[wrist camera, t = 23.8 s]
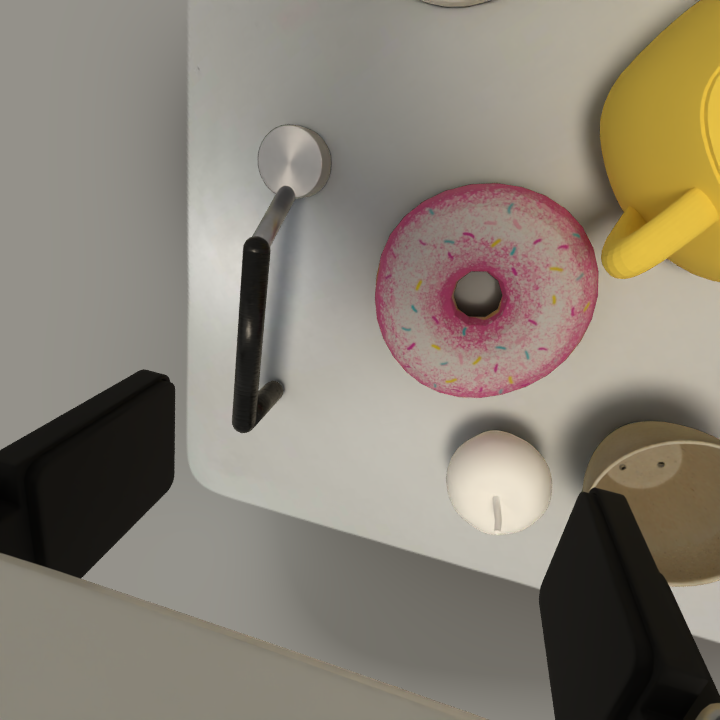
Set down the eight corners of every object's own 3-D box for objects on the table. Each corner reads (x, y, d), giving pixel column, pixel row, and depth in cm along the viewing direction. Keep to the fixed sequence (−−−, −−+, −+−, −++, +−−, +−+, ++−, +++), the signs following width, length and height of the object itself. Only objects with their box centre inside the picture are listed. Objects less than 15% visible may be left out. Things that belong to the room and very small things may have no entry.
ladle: (272, 122, 32) (222, 109, 26) (335, 133, 31) (300, 122, 25) (251, 389, 40) (208, 428, 33) (301, 402, 39) (267, 445, 33)
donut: (572, 153, 29) (590, 149, 24) (600, 360, 32) (620, 390, 28) (360, 214, 33) (341, 220, 28) (407, 392, 36) (396, 422, 32)
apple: (440, 480, 39) (431, 551, 31) (461, 402, 36) (456, 460, 29) (529, 504, 37) (540, 583, 30) (557, 426, 35) (578, 492, 27)
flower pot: (692, 525, 35) (741, 605, 28) (549, 495, 37) (564, 564, 30) (746, 403, 31) (816, 463, 25) (584, 376, 33) (610, 426, 27)
